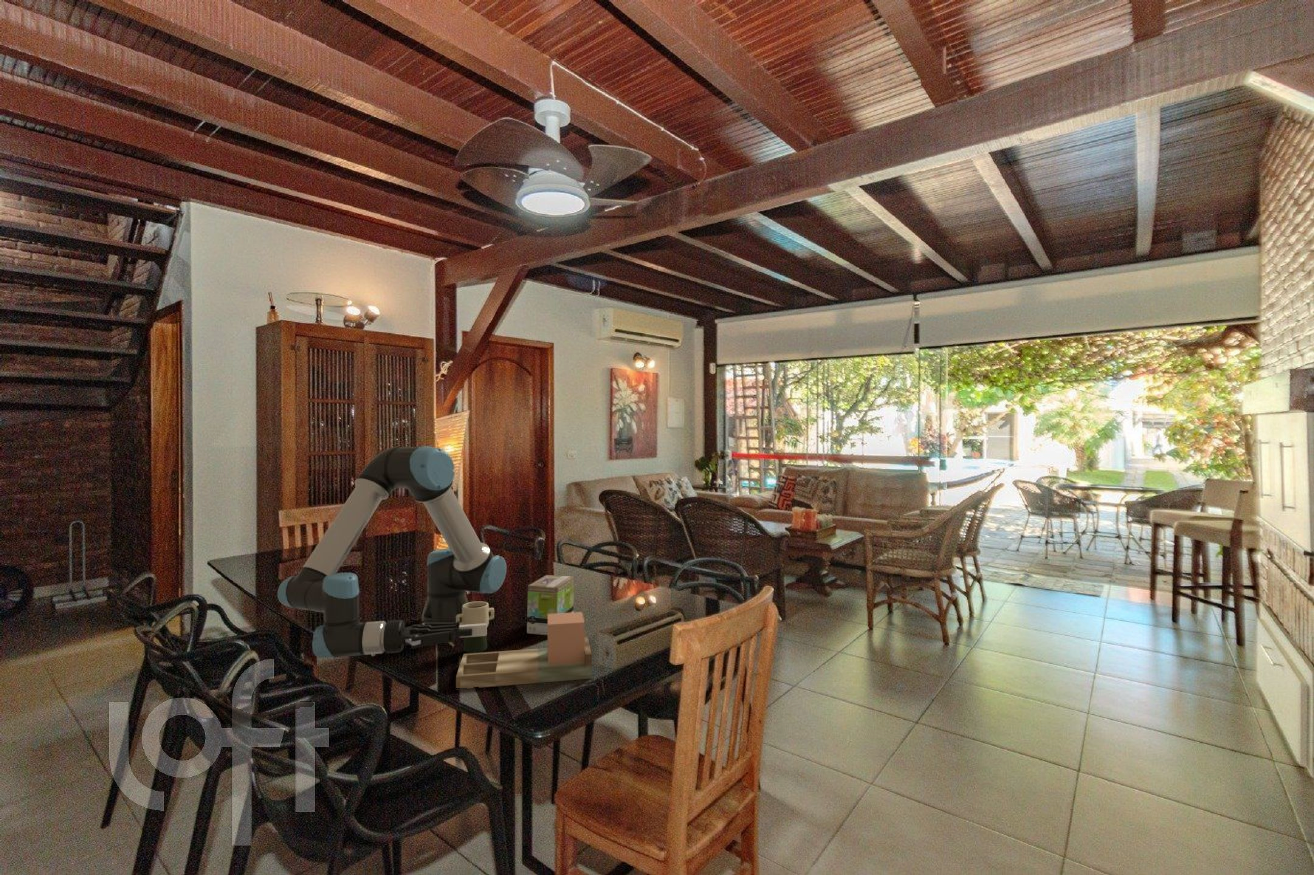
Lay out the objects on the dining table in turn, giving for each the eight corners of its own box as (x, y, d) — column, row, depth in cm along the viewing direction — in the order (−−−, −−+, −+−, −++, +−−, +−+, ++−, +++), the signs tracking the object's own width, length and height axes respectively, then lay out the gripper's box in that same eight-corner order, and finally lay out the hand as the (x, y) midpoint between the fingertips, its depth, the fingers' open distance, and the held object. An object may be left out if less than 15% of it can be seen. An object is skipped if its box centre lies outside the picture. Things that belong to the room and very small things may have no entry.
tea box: (557, 636, 180) (557, 586, 180) (526, 634, 182) (525, 585, 182) (574, 621, 195) (574, 575, 195) (545, 619, 197) (545, 573, 197)
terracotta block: (547, 651, 159) (547, 613, 159) (582, 649, 161) (582, 611, 161) (548, 664, 150) (548, 624, 150) (584, 662, 152) (584, 622, 152)
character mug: (489, 643, 174) (488, 598, 174) (499, 650, 169) (499, 603, 168) (451, 652, 167) (451, 605, 167) (461, 659, 162) (460, 611, 162)
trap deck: (463, 665, 158) (463, 642, 158) (587, 656, 164) (586, 634, 164) (456, 689, 143) (455, 663, 143) (591, 678, 149) (591, 654, 149)
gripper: (392, 642, 153) (488, 635, 158) (379, 662, 140) (484, 653, 145) (391, 613, 153) (488, 606, 158) (378, 630, 140) (484, 622, 145)
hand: (486, 629), depth 152 cm, fingers closed
